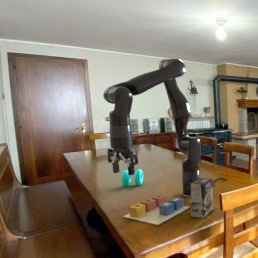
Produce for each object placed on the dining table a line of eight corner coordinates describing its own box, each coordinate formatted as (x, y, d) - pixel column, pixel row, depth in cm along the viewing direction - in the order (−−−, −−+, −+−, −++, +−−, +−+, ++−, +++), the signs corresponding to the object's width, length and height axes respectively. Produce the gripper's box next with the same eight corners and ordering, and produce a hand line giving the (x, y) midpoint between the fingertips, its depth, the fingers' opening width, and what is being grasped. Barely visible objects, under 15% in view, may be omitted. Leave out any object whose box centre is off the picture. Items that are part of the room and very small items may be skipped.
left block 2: (159, 202, 126) (159, 194, 126) (166, 203, 125) (165, 195, 124) (152, 205, 122) (151, 197, 122) (159, 207, 121) (158, 198, 120)
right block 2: (176, 205, 123) (176, 197, 122) (183, 207, 121) (183, 198, 121) (169, 209, 119) (169, 200, 118) (176, 210, 117) (176, 201, 117)
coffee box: (203, 218, 111) (203, 184, 109) (190, 217, 112) (190, 183, 110) (213, 210, 120) (212, 178, 118) (201, 209, 121) (200, 177, 119)
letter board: (157, 201, 129) (157, 200, 128) (189, 208, 122) (189, 207, 122) (122, 217, 111) (122, 216, 111) (158, 226, 104) (158, 224, 104)
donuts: (140, 187, 150) (139, 171, 149) (121, 188, 147) (120, 172, 146) (144, 182, 159) (143, 167, 158) (126, 183, 156) (125, 168, 155)
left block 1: (149, 207, 121) (149, 198, 120) (156, 208, 119) (155, 199, 119) (141, 210, 117) (141, 201, 116) (148, 212, 115) (148, 203, 115)
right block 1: (166, 210, 117) (166, 201, 117) (174, 212, 116) (173, 203, 115) (159, 214, 113) (158, 205, 113) (166, 216, 112) (166, 206, 111)
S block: (138, 212, 115) (138, 203, 115) (145, 213, 114) (145, 204, 113) (129, 216, 111) (129, 206, 110) (136, 217, 109) (136, 208, 109)
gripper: (142, 135, 102) (144, 173, 104) (117, 133, 106) (120, 169, 108) (125, 138, 95) (127, 178, 97) (99, 135, 99) (102, 174, 101)
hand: (123, 173), depth 102 cm, fingers open, 8 cm apart
